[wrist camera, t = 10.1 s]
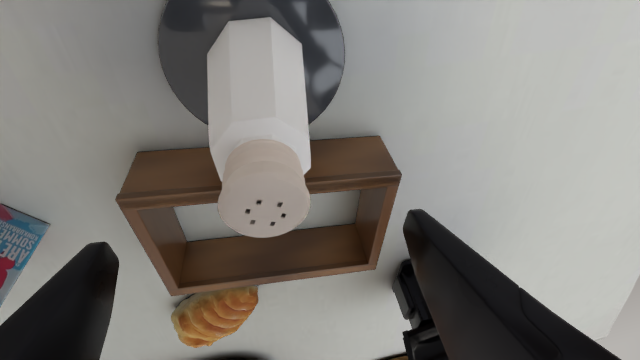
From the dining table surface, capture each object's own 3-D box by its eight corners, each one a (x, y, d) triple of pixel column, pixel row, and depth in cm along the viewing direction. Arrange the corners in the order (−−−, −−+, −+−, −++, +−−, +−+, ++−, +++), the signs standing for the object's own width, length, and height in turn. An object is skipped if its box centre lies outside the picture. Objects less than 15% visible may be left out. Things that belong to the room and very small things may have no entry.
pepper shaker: (320, 32, 17) (384, 159, 9) (291, 118, 20) (319, 268, 12) (214, -3, 15) (172, 117, 7) (201, 98, 18) (163, 260, 10)
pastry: (223, 267, 30) (221, 304, 28) (274, 286, 34) (276, 321, 32) (168, 308, 34) (161, 345, 31) (220, 321, 38) (218, 355, 35)
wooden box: (380, 134, 23) (402, 174, 19) (361, 228, 30) (375, 269, 27) (136, 150, 20) (114, 199, 17) (180, 248, 28) (170, 296, 24)
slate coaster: (351, -45, 15) (354, -44, 15) (336, 130, 22) (338, 134, 21) (130, -50, 14) (125, -48, 13) (187, 139, 20) (185, 144, 20)
